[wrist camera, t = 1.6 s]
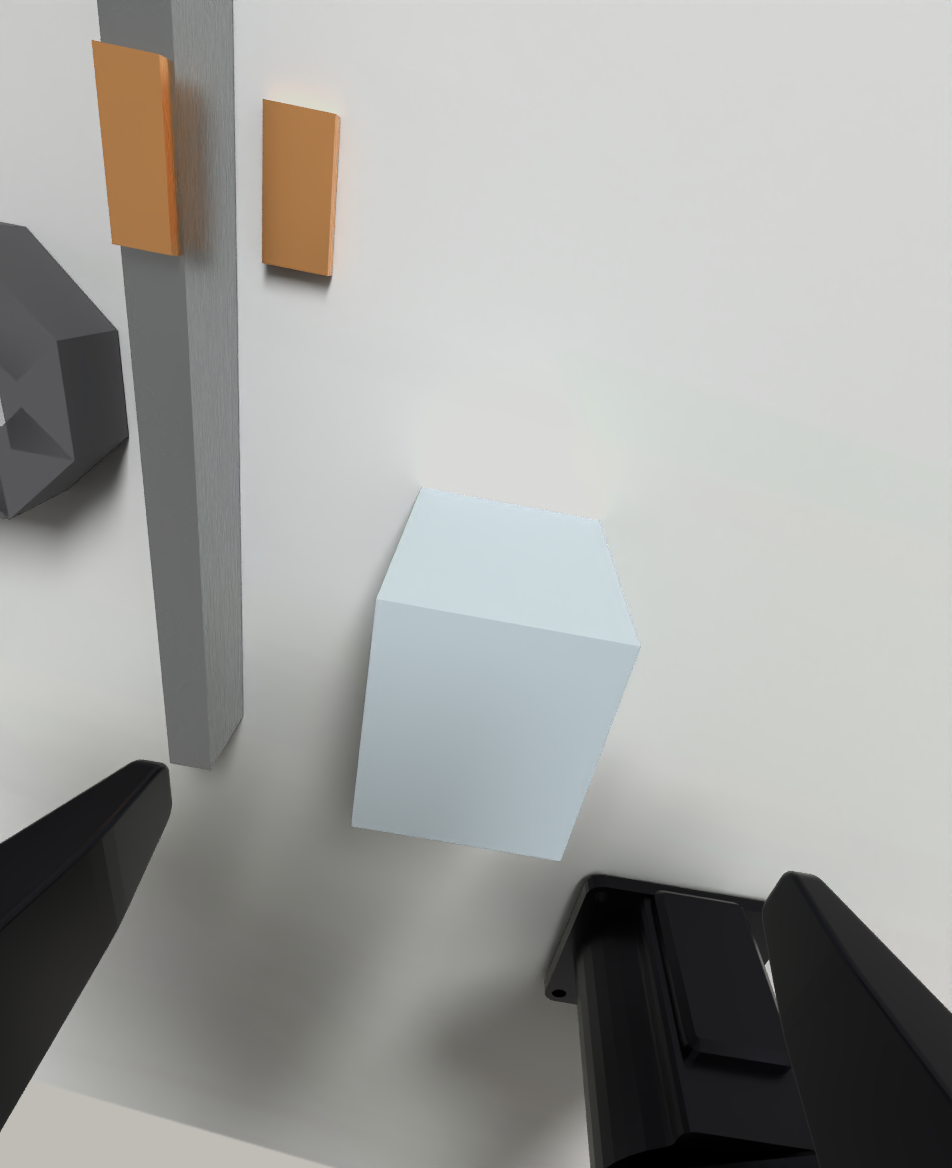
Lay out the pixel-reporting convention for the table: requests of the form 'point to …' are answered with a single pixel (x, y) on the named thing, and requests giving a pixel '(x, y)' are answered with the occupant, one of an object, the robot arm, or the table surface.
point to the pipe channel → (196, 317)
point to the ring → (52, 377)
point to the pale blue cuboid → (491, 676)
